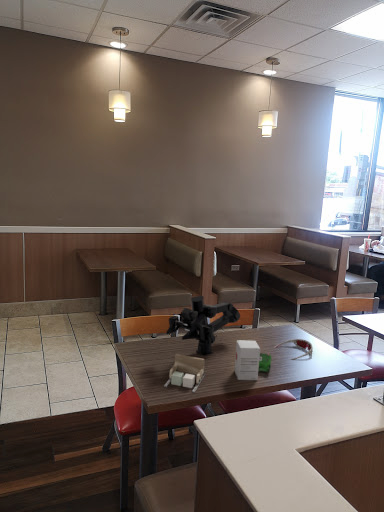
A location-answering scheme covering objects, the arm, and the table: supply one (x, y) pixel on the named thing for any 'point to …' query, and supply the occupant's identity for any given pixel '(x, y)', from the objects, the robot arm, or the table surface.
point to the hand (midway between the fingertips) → (174, 335)
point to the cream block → (188, 380)
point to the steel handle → (194, 387)
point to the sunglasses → (302, 344)
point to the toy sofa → (188, 366)
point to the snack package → (264, 362)
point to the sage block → (177, 378)
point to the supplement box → (247, 360)
